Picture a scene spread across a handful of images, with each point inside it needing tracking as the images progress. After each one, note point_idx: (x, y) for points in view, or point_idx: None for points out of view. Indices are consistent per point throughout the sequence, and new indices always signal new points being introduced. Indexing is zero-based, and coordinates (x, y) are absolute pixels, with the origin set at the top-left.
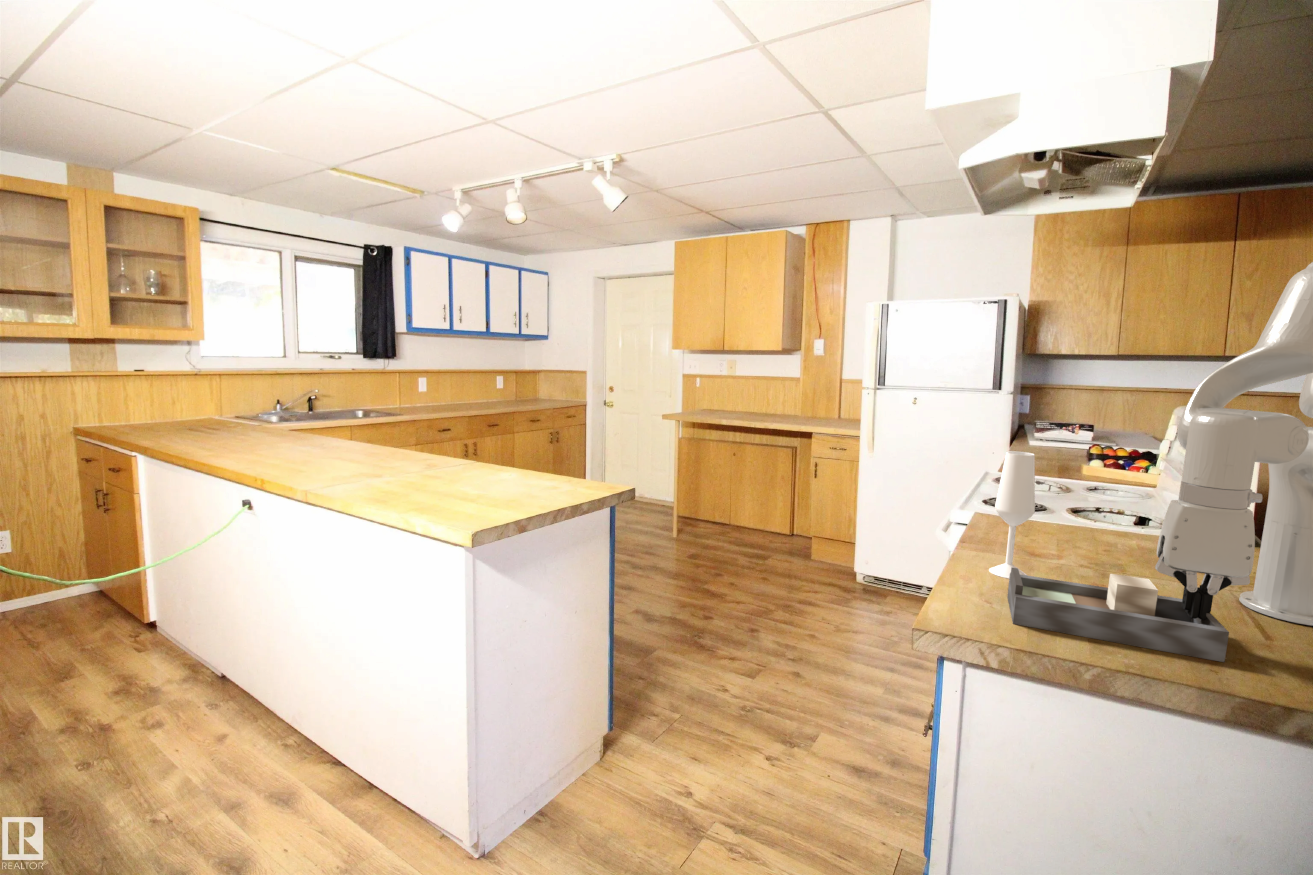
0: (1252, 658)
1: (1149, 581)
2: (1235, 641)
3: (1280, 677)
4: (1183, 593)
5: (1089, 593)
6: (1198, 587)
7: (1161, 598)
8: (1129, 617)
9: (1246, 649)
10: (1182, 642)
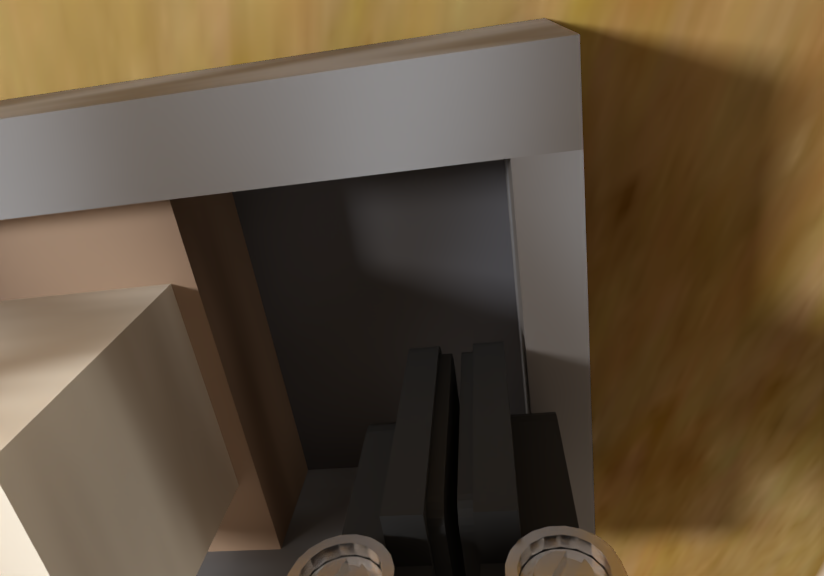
0: (738, 373)
1: (16, 536)
2: (756, 133)
3: (770, 529)
4: (350, 505)
5: None
6: (486, 507)
7: (238, 183)
8: None
9: (767, 249)
10: None
